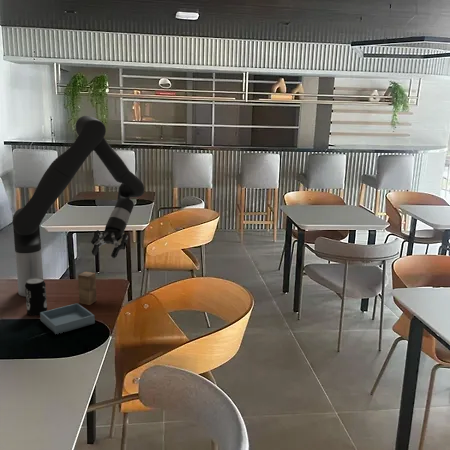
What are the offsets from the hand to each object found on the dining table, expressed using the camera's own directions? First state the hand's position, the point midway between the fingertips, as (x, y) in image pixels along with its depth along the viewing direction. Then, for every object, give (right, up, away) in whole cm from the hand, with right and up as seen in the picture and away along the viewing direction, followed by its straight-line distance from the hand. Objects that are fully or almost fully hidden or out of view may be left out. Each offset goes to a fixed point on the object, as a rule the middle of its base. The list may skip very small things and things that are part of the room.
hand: (103, 256), depth 180 cm
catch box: (-6, -21, -24) cm, 32 cm away
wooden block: (-4, -17, -7) cm, 18 cm away
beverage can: (-19, -19, -17) cm, 32 cm away
